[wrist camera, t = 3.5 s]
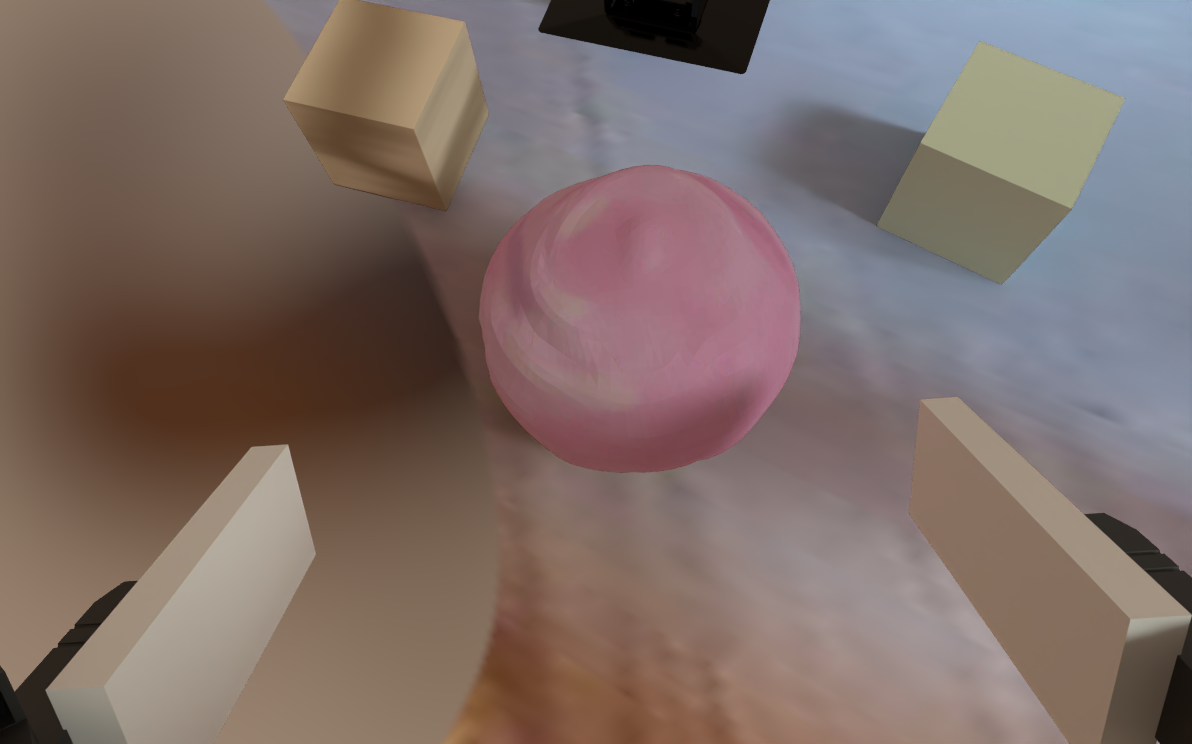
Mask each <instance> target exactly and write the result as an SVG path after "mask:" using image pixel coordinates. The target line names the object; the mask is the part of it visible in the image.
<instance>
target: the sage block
mask: <svg viewBox="0 0 1192 744" xmlns="http://www.w3.org/2000/svg"><path fill="white" fill-rule="evenodd" d="M1124 100H1125V98H1123V97H1121V96H1118V95H1116V94H1113V93H1111V92H1108V91H1106V90H1103V89H1100V88H1098V87H1095V86H1093V85H1090V84H1088V83H1085V82H1083V81H1080V80H1078V79H1075V78H1073V77H1070V76H1068V75H1065V74H1062V73H1060V72H1057V71H1055V70H1052V69H1050V68H1047V67H1045V66H1042V65H1040V64H1037V63H1035V62H1032V61H1030V60H1027V59H1024V58H1022V57H1019V56H1017V55H1014V54H1012V53H1009V52H1007V51H1004V50H1002V49H999V48H997V47H994V46H992V45H989V44H987V43H984V42H981V41H979V43H978V45H977V46H976V48H975V50H974V51H973V53H972V55H971V57H970V58H969V60H968V62H967V63H966V65H965V67H964V69H963V70H962V72H961V74H960V76H959V77H958V79H957V81H956V82H955V84H954V86H953V88H952V89H951V91H950V93H949V94H948V96H947V98H946V100H945V101H944V103H943V105H942V106H941V108H940V110H939V112H938V113H937V115H936V117H935V118H934V120H933V122H932V124H931V125H930V127H929V129H928V131H927V132H926V134H925V136H924V137H923V139H922V141H921V143H920V144H919V146H918V148H917V150H916V152H915V154H914V156H913V158H912V160H911V161H910V163H909V165H908V167H907V169H906V171H905V173H904V175H903V176H902V178H901V180H900V182H899V184H898V186H897V188H896V190H895V192H894V193H893V195H892V197H891V199H890V201H889V203H888V205H887V207H886V209H885V210H884V212H883V214H882V216H881V218H880V220H879V222H878V224H877V227H879V228H881V229H883V230H886V231H888V232H890V233H892V234H894V235H896V236H898V237H901V238H903V239H905V240H907V241H909V242H911V243H913V244H915V245H918V246H920V247H922V248H924V249H926V250H928V251H930V252H933V253H935V254H937V255H939V256H941V257H943V258H945V259H947V260H950V261H952V262H954V263H956V264H958V265H960V266H962V267H965V268H967V269H969V270H971V271H973V272H975V273H977V274H979V275H982V276H984V277H986V278H988V279H990V280H992V281H994V282H997V283H999V284H1001V285H1002V284H1003V283H1004V282H1005V281H1006V280H1007V279H1008V278H1009V277H1010V276H1011V275H1012V274H1013V273H1014V271H1015V270H1016V269H1017V268H1018V267H1019V266H1020V265H1021V264H1022V263H1023V262H1024V261H1025V260H1026V258H1027V257H1028V256H1029V255H1030V254H1031V253H1032V252H1033V251H1034V250H1035V249H1036V248H1037V247H1038V245H1039V244H1040V243H1041V242H1042V241H1043V240H1044V239H1045V238H1046V237H1047V236H1048V235H1049V234H1050V232H1051V231H1052V230H1053V229H1054V228H1055V227H1056V226H1057V225H1058V224H1059V223H1060V222H1061V221H1062V219H1063V218H1064V217H1065V216H1066V215H1067V214H1068V213H1069V212H1070V211H1071V210H1072V208H1073V206H1074V204H1075V202H1076V200H1077V198H1078V196H1079V194H1080V192H1081V190H1082V187H1083V185H1084V183H1085V181H1086V179H1087V177H1088V175H1089V173H1090V171H1091V169H1092V167H1093V165H1094V163H1095V161H1096V158H1097V156H1098V154H1099V152H1100V150H1101V148H1102V146H1103V144H1104V142H1105V140H1106V138H1107V136H1108V134H1109V131H1110V129H1111V127H1112V125H1113V123H1114V121H1115V119H1116V117H1117V115H1118V113H1119V111H1120V109H1121V107H1122V105H1123V102H1124Z"/></svg>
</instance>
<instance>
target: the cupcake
mask: <svg viewBox="0 0 1192 744" xmlns="http://www.w3.org/2000/svg"><path fill="white" fill-rule="evenodd" d="M800 314H801V311H800V291H799V285H798V281H797V277H796V273H795V269H794V265H793V263H792V261H791V259H790V257H789V255H788V252H787V250H786V248H785V246H784V245H783V243H782V241H781V240H780V238H779V236H778V235H777V233H776V231H775V230H774V229H773V227H772V226H771V225H770V223H769V222H768V221H767V219H766V218H765V217H764V216H763V214H762V213H761V212H760V211H759V210H758V209H757V208H756V207H754V206H753V205H752V204H751V203H750V202H749V201H748V200H746V199H745V198H743V197H742V196H740V195H739V194H737V193H736V192H734V191H733V190H731V189H730V188H728V187H726V186H725V185H723V184H721V183H719V182H717V181H715V180H713V179H711V178H708V177H705V176H702V175H699V174H696V173H692V172H687V171H683V170H675V169H672V168H669V167H664V166H659V165H644V166H636V167H631V168H626V169H622V170H619V171H616V172H613V173H610V174H608V175H605V176H602V177H598V178H594V179H590V180H587V181H584V182H581V183H578V184H575V185H572V186H570V187H567V188H565V189H562V190H560V191H558V192H556V193H554V194H552V195H550V196H549V197H547V198H545V199H543V200H542V201H541V202H540V203H539V204H537V205H536V206H535V207H534V208H533V209H532V210H530V211H529V212H528V213H527V214H525V215H524V216H523V217H522V218H521V219H520V220H519V221H518V222H517V223H516V224H515V225H514V226H513V227H512V228H511V229H510V230H509V231H508V232H507V234H506V235H505V236H504V238H503V239H502V240H501V241H500V243H499V245H498V246H497V248H496V250H495V252H494V254H493V256H492V258H491V260H490V262H489V265H488V268H487V271H486V273H485V276H484V280H483V285H482V290H481V297H480V308H479V322H480V325H481V328H482V335H483V341H484V344H485V357H486V364H487V366H488V369H489V372H490V375H489V377H490V380H491V382H492V384H493V386H494V388H495V390H496V391H497V393H498V395H499V397H500V398H501V400H502V402H503V403H504V405H505V407H506V408H507V409H508V410H509V412H510V413H511V414H512V415H513V417H514V418H515V419H516V420H517V421H518V422H519V423H520V424H521V426H522V427H523V428H524V429H525V430H526V431H527V432H528V433H529V434H530V435H532V436H533V437H534V438H535V439H536V440H537V441H538V442H540V443H541V444H542V445H543V446H545V447H546V448H547V449H548V450H550V451H551V452H552V453H554V454H555V455H556V456H558V457H559V458H561V459H563V460H565V461H567V462H568V463H570V464H573V465H576V466H580V467H583V468H587V469H593V470H600V471H608V472H619V473H625V472H656V471H664V470H670V469H674V468H678V467H682V466H686V465H688V464H691V463H693V462H696V461H698V460H703V459H707V458H710V457H713V456H716V455H718V454H721V453H723V452H724V451H726V450H727V449H729V448H731V447H732V446H733V445H734V444H736V443H737V442H738V441H739V440H740V439H741V438H743V437H744V436H745V435H746V434H747V432H748V431H749V430H750V429H751V428H752V427H753V426H754V424H755V423H756V422H757V421H758V420H759V419H760V418H761V416H762V415H763V414H764V412H765V411H766V410H767V408H768V407H769V406H770V405H771V403H772V402H773V401H774V399H775V398H776V396H777V395H778V393H779V392H780V391H781V389H782V387H783V386H784V384H785V382H786V380H787V379H788V376H789V374H790V371H791V369H792V366H793V364H794V361H795V358H796V355H797V352H798V346H799V339H800Z"/></svg>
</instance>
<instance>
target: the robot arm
mask: <svg viewBox="0 0 1192 744" xmlns="http://www.w3.org/2000/svg"><path fill="white" fill-rule="evenodd" d="M909 514H910V516H911V517H912V518H913V520H914V521H915V523H916V524H917V526H918V527H919V528H920V530H921V531H922V533H923V534H924V536H925V537H926V539H927V540H928V541H929V543H930V544H931V546H932V547H933V549H934V550H935V551H936V553H937V554H938V556H939V557H940V559H941V560H942V561H943V563H944V564H945V566H946V567H947V569H948V570H949V571H950V573H951V574H952V576H953V577H954V579H955V580H956V582H957V583H958V584H959V586H960V587H961V589H962V590H963V592H964V593H965V594H966V596H967V597H968V599H969V600H970V602H971V603H972V604H973V606H974V607H975V609H976V610H977V612H978V613H979V614H980V616H981V617H982V619H983V620H984V622H985V623H986V625H987V626H988V627H989V629H990V630H991V632H992V633H993V635H994V636H995V637H996V639H997V640H998V642H999V643H1000V645H1001V646H1002V647H1003V649H1004V650H1005V652H1006V653H1007V655H1008V656H1009V658H1010V659H1011V660H1012V662H1013V663H1014V665H1015V666H1016V668H1017V669H1018V670H1019V672H1020V673H1021V675H1022V676H1023V678H1024V679H1025V680H1026V682H1027V683H1028V685H1029V686H1030V688H1031V689H1032V690H1033V692H1034V693H1035V695H1036V696H1037V698H1038V699H1039V701H1040V702H1041V703H1042V705H1043V706H1044V708H1045V709H1046V711H1047V712H1048V713H1049V715H1050V716H1051V718H1052V719H1053V721H1054V722H1055V723H1056V725H1057V726H1058V728H1059V729H1060V731H1061V732H1062V733H1063V735H1064V736H1065V738H1066V739H1067V741H1068V742H1069V744H1156V742H1157V740H1158V742H1159V743H1160V744H1192V578H1191V577H1190V576H1189V575H1188V574H1187V573H1186V572H1185V571H1180V570H1179V566H1178V565H1176V564H1175V563H1174V562H1173V561H1172V560H1171V559H1170V558H1168V557H1167V556H1166V555H1165V554H1160V550H1159V549H1158V548H1157V547H1156V546H1155V545H1154V544H1152V543H1151V542H1150V541H1149V540H1148V539H1147V538H1145V537H1144V536H1143V535H1142V534H1141V533H1140V532H1139V531H1137V530H1136V529H1134V528H1132V527H1130V526H1128V525H1126V524H1124V523H1122V522H1121V521H1119V520H1117V519H1115V518H1113V517H1111V516H1109V515H1107V514H1105V513H1096V514H1083V513H1082V512H1081V511H1080V510H1079V509H1078V508H1076V507H1075V506H1074V505H1073V504H1072V503H1071V502H1070V501H1069V500H1068V499H1067V498H1066V497H1065V496H1064V495H1062V494H1061V493H1060V492H1059V491H1058V490H1057V489H1056V488H1055V487H1054V486H1053V485H1052V484H1051V483H1050V482H1049V481H1047V480H1046V479H1045V478H1044V477H1043V476H1042V475H1041V474H1040V473H1039V472H1038V471H1037V470H1036V469H1035V468H1033V467H1032V466H1031V465H1030V464H1029V463H1028V462H1027V461H1026V460H1025V459H1024V458H1023V457H1022V456H1021V455H1020V454H1018V453H1017V452H1016V451H1015V450H1014V449H1013V448H1012V447H1011V446H1010V445H1009V444H1008V443H1007V442H1006V441H1004V440H1003V439H1002V438H1001V437H1000V436H999V435H998V434H997V433H996V432H995V431H994V430H993V429H992V428H991V427H989V426H988V425H987V424H986V423H985V422H984V421H983V420H982V419H981V418H980V417H979V416H978V415H977V414H975V413H974V412H973V411H972V410H971V409H970V408H969V407H968V406H967V405H966V404H965V403H964V402H963V401H962V400H960V399H959V398H958V397H949V398H935V399H921V400H920V406H919V416H918V427H917V437H916V447H915V458H914V468H913V478H912V489H911V499H910V509H909ZM315 555H316V552H315V548H314V544H313V540H312V536H311V533H310V528H309V525H308V521H307V517H306V513H305V509H304V506H303V501H302V497H301V493H300V489H299V486H298V482H297V478H296V474H295V470H294V466H293V462H292V459H291V454H290V450H289V447H288V444H287V445H273V446H259V447H251V448H250V450H249V451H248V452H247V453H246V454H245V456H244V457H243V458H242V459H241V460H240V461H239V463H238V464H237V465H236V466H235V467H234V468H233V470H232V471H231V472H230V473H229V474H228V475H227V477H226V478H225V479H224V480H223V482H222V483H221V484H220V485H219V486H218V487H217V488H216V490H215V491H214V492H213V493H212V494H211V496H210V497H209V498H208V499H207V500H206V501H205V503H204V504H203V505H202V506H201V507H200V509H199V510H198V511H197V512H196V513H195V514H194V516H193V517H192V518H191V519H190V520H189V522H188V523H187V524H186V525H185V526H184V527H183V529H182V530H181V531H180V532H179V533H178V534H177V536H176V537H175V538H174V539H173V540H172V542H171V543H170V544H169V545H168V546H167V548H166V549H165V550H164V551H163V552H162V553H161V555H160V556H159V557H158V558H157V559H156V561H155V562H154V563H153V564H152V565H151V566H150V568H149V569H148V570H147V571H146V572H145V574H144V575H143V576H142V577H141V578H140V579H139V580H138V581H128V582H123V583H122V584H120V585H119V586H117V587H116V588H114V589H113V590H111V591H110V592H109V593H107V594H106V595H104V596H103V597H102V598H100V599H99V600H97V601H96V602H95V603H94V604H93V605H92V606H91V607H90V608H89V609H88V610H87V611H86V613H85V614H84V615H83V616H82V617H81V618H80V619H79V620H78V622H77V623H76V624H75V628H74V629H70V631H69V632H68V633H67V634H66V635H65V636H64V637H63V638H62V639H61V641H60V642H59V643H58V647H57V648H53V649H52V651H51V652H50V653H49V654H48V655H47V656H46V657H45V658H44V660H43V661H42V662H41V663H40V664H39V665H38V666H37V667H36V669H35V670H34V671H33V672H32V673H31V674H30V675H29V676H28V677H27V679H26V680H25V681H24V682H23V683H22V684H21V685H20V686H19V688H18V689H17V690H16V691H15V692H14V690H13V688H12V686H11V684H10V681H9V679H8V677H7V675H6V673H5V671H4V670H3V669H2V668H1V666H0V744H214V743H215V741H216V739H217V737H218V735H219V733H220V731H221V730H222V728H223V726H224V724H225V722H226V720H227V719H228V717H229V715H230V713H231V711H232V709H233V707H234V706H235V704H236V702H237V700H238V698H239V696H240V694H241V693H242V691H243V689H244V687H245V685H246V683H247V681H248V680H249V678H250V676H251V674H252V672H253V670H254V668H255V666H256V665H257V663H258V661H259V659H260V657H261V655H262V653H263V651H264V650H265V648H266V646H267V644H268V642H269V641H270V639H271V636H272V635H273V633H274V631H275V629H276V628H277V626H278V624H279V622H280V620H281V618H282V616H283V615H284V612H285V611H286V609H287V607H288V605H289V603H290V601H291V600H292V598H293V596H294V594H295V592H296V590H297V588H298V586H299V585H300V583H301V581H302V579H303V577H304V575H305V574H306V572H307V570H308V568H309V566H310V564H311V563H312V561H313V559H314V557H315Z"/></svg>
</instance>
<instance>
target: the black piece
mask: <svg viewBox="0 0 1192 744" xmlns="http://www.w3.org/2000/svg"><path fill="white" fill-rule="evenodd" d="M769 1H770V0H551V2H550V4H549V6H548V9H547V11H546V13H545V15H544V18H543V20H542V22H541V24H540V26H539V29H538V30H539V31H540V32H541V33H546V34H551V35H556V36H561V37H565V38H570V39H575V40H580V41H585V42H589V43H594V44H599V45H604V46H609V47H613V48H618V49H623V50H628V51H633V52H638V53H642V54H647V55H652V56H657V57H662V58H666V59H671V60H676V61H681V62H686V63H690V64H695V65H700V66H705V67H710V68H714V69H719V70H724V71H729V72H734V73H739V74H744V73H745V72H746V70H747V67H748V64H749V61H750V58H751V55H752V52H753V49H754V46H755V43H756V40H757V37H758V34H759V31H760V28H761V25H762V22H763V19H764V16H765V13H766V10H767V7H768V4H769Z"/></svg>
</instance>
